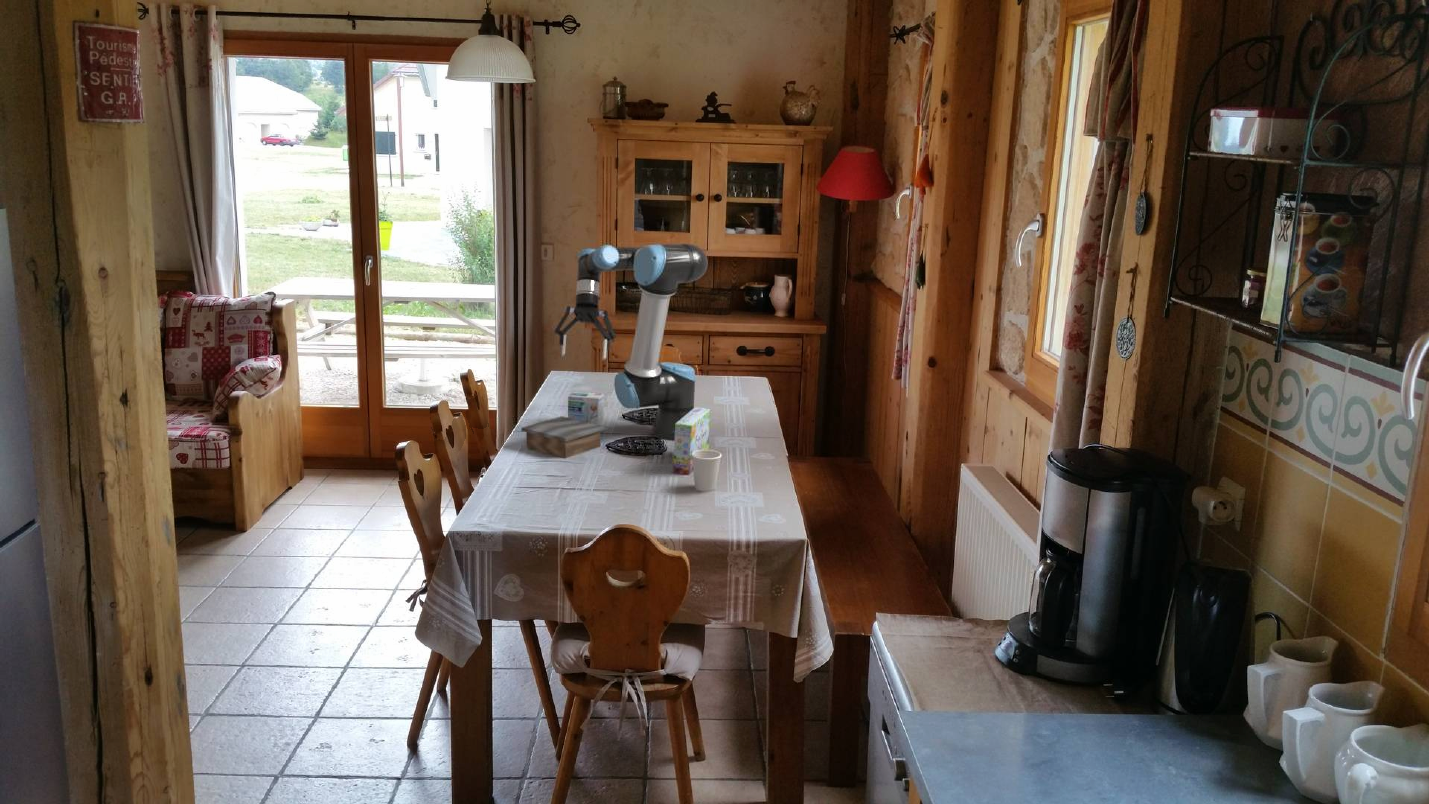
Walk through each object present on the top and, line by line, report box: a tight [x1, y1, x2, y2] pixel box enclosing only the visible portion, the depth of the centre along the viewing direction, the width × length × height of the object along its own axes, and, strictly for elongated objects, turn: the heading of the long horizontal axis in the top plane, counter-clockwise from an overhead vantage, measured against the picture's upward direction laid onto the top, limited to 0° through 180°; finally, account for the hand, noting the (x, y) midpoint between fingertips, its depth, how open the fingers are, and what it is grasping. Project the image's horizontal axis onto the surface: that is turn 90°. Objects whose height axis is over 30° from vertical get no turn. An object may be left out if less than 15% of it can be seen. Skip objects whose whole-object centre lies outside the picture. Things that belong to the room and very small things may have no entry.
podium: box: [521, 415, 606, 459], centre depth 332 cm, size 18×18×6 cm
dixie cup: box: [691, 449, 722, 493], centre depth 298 cm, size 8×8×10 cm
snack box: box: [672, 407, 711, 476], centre depth 319 cm, size 21×6×15 cm, turn 166°
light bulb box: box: [567, 391, 605, 426], centre depth 356 cm, size 11×7×11 cm, turn 80°
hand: (583, 357), depth 355 cm, fingers open, 13 cm apart
